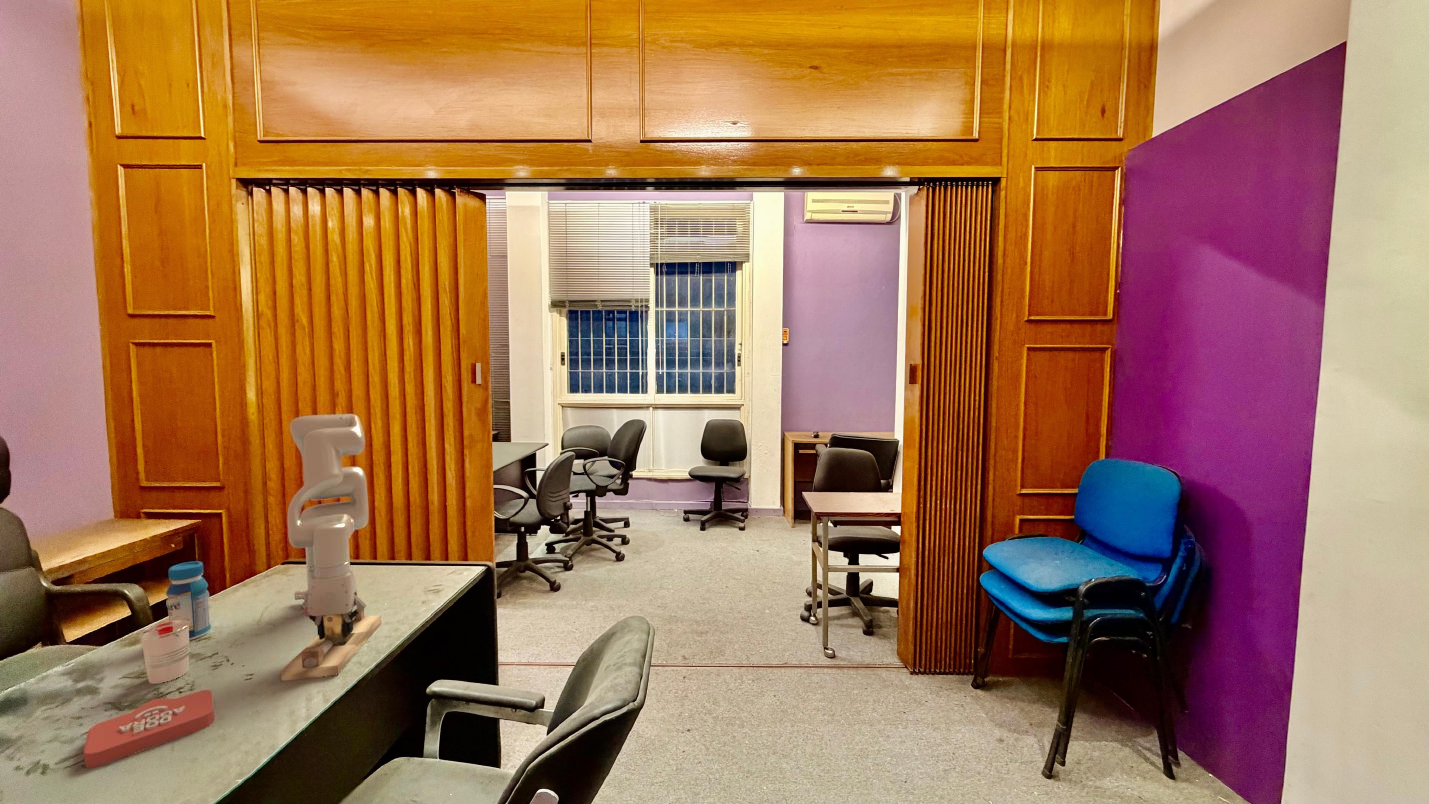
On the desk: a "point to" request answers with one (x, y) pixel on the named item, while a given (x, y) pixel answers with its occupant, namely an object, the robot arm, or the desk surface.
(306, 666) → the shaft jig
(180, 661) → the striped cup with float
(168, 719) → the plaque
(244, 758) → the desk surface
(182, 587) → the blue supplement bottle
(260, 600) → the desk surface
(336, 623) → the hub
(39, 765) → the desk surface
